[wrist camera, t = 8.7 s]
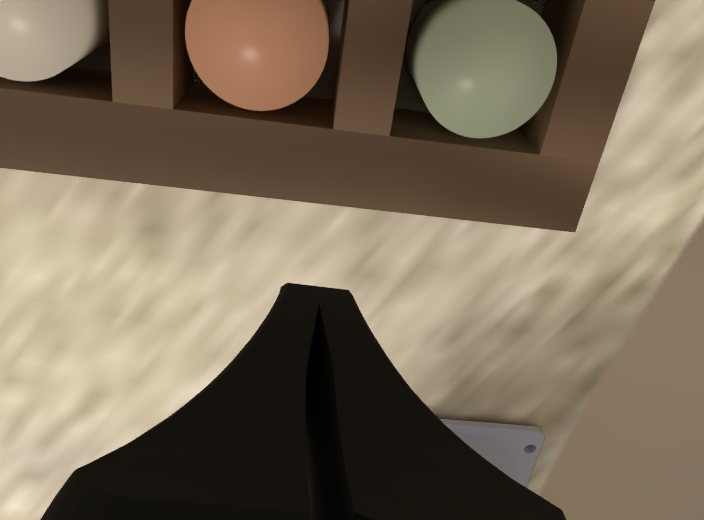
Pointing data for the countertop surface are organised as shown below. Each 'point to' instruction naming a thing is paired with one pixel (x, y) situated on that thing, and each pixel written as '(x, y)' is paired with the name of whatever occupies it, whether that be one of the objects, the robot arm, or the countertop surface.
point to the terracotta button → (258, 49)
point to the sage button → (481, 64)
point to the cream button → (49, 35)
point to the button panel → (329, 121)
